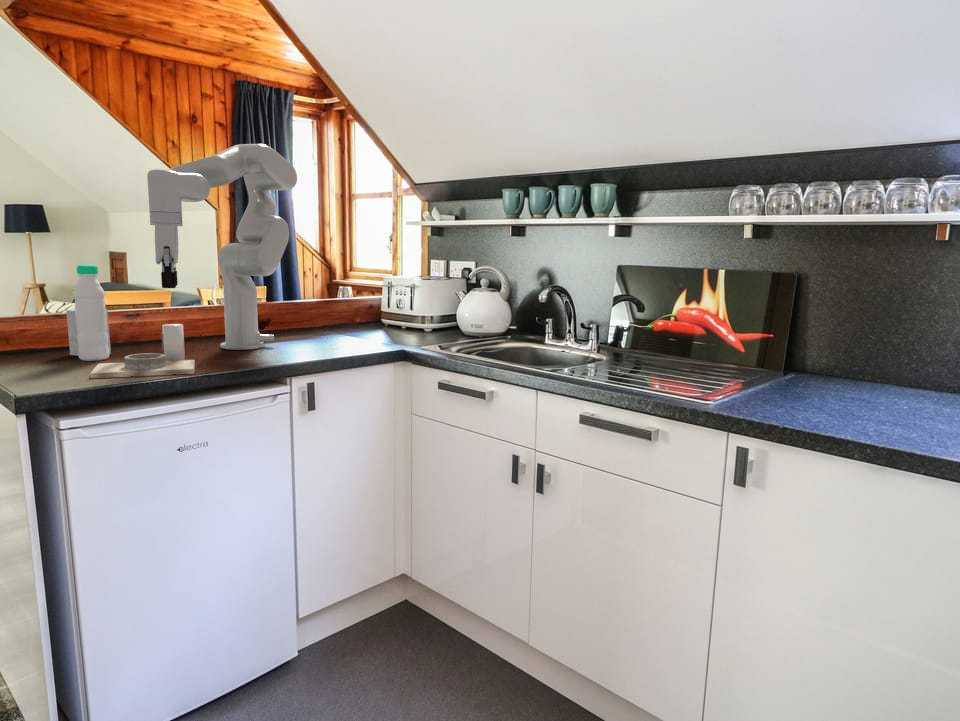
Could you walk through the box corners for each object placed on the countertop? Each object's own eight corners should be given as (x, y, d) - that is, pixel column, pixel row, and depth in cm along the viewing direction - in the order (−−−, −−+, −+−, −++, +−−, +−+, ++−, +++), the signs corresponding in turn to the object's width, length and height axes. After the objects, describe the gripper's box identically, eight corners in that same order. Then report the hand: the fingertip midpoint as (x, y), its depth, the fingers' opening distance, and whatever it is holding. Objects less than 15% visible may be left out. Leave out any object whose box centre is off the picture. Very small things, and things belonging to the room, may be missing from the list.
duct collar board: (194, 364, 169) (194, 350, 169) (194, 373, 157) (193, 358, 157) (99, 368, 161) (97, 353, 160) (90, 378, 149) (89, 362, 148)
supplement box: (112, 353, 181) (108, 309, 179) (86, 357, 174) (82, 311, 172) (94, 351, 184) (91, 307, 182) (69, 355, 177) (65, 309, 175)
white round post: (185, 360, 175) (183, 323, 173) (184, 363, 170) (182, 326, 168) (163, 361, 173) (161, 324, 171) (162, 364, 168) (160, 326, 166)
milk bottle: (95, 361, 169) (88, 265, 164) (72, 360, 170) (64, 265, 166) (115, 357, 175) (108, 265, 171) (93, 356, 177) (86, 264, 172)
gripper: (152, 220, 171) (156, 284, 174) (147, 218, 155) (151, 289, 158) (183, 221, 174) (186, 284, 177) (181, 219, 158) (184, 289, 161)
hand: (170, 286), depth 168 cm, fingers open, 9 cm apart
